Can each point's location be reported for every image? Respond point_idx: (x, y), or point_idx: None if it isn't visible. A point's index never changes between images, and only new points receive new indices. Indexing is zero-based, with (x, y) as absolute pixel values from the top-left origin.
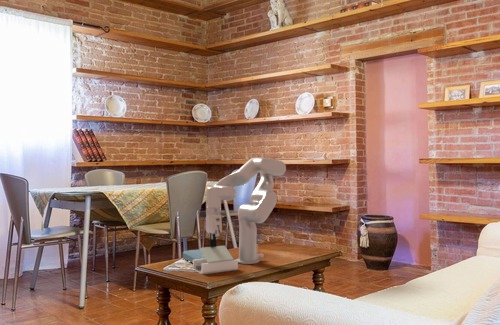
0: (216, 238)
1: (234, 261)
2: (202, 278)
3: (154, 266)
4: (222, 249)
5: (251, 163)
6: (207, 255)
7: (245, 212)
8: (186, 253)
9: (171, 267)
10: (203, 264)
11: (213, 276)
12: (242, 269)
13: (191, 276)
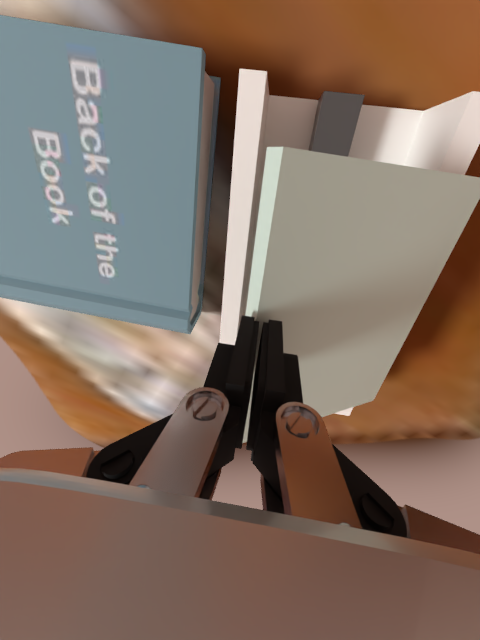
0: (319, 424)
1: (467, 154)
2: (394, 407)
3: (101, 422)
4: (334, 241)
5: None
6: (329, 401)
7: None
8: None
9: (141, 393)
10: (350, 408)
11: (412, 358)
12: (466, 54)
13: (329, 416)
